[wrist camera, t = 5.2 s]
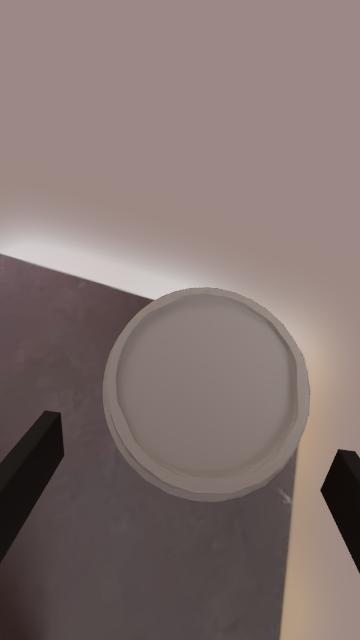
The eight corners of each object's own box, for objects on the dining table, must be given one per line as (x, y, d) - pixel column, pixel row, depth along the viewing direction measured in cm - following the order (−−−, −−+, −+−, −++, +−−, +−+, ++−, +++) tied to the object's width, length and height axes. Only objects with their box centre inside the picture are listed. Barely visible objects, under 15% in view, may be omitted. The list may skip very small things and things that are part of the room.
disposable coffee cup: (201, 496, 19) (240, 588, 8) (112, 411, 21) (45, 388, 10) (266, 395, 22) (359, 359, 11) (182, 331, 24) (190, 248, 13)
